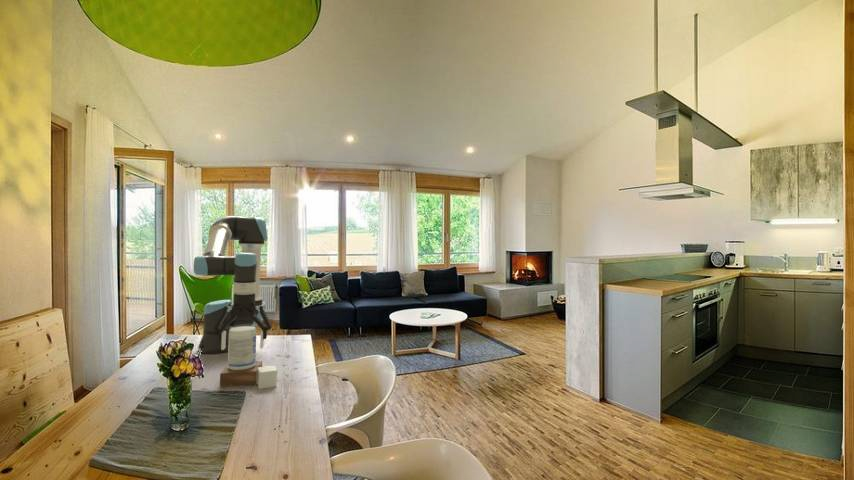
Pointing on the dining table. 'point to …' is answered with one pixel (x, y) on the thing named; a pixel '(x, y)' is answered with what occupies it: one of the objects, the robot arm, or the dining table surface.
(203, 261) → the robot arm
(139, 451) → the dining table surface
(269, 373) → the cream cube
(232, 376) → the walnut block
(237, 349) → the supplement tub
